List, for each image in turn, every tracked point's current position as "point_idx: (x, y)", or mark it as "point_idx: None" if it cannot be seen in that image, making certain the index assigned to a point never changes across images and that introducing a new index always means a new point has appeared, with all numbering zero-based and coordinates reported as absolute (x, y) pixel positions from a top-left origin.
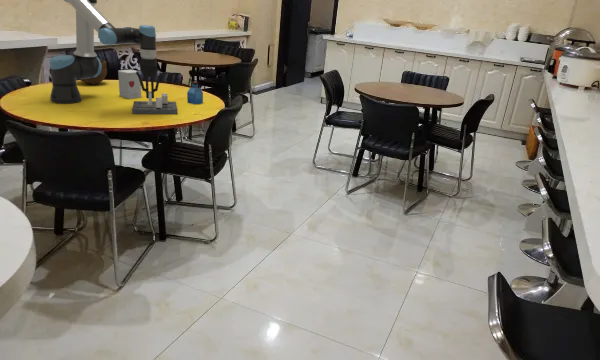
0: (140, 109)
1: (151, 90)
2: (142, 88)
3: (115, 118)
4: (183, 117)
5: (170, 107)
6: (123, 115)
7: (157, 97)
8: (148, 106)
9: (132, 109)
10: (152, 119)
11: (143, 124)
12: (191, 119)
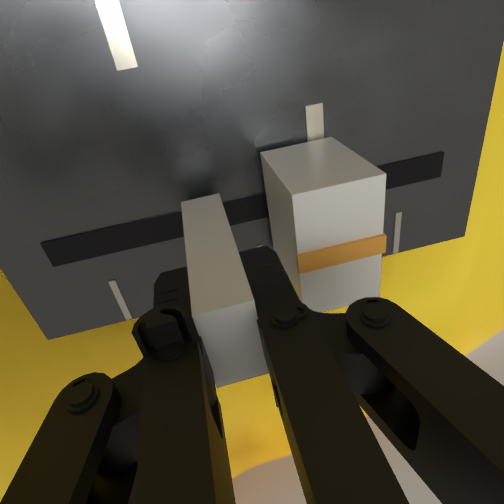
0: (130, 318)
1: (279, 403)
2: (101, 494)
3: (9, 435)
4: (461, 290)
5: (417, 174)
6: (13, 364)
7: (319, 201)
8: (168, 180)
9: (52, 337)
10: (262, 384)
11: (233, 464)
12: (497, 318)
